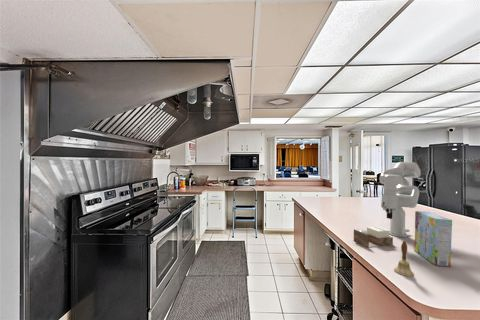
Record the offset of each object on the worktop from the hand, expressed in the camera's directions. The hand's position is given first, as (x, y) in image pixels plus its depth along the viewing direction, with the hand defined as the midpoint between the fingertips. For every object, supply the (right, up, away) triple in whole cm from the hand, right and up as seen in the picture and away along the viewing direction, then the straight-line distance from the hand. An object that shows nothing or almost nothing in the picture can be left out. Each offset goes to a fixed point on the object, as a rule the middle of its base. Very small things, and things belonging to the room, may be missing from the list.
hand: (389, 218), depth 164 cm
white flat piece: (-12, -17, +16) cm, 26 cm away
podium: (-13, -16, -3) cm, 21 cm away
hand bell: (-22, -17, -45) cm, 53 cm away
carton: (-9, -11, -2) cm, 15 cm away
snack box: (+7, -17, -28) cm, 33 cm away
